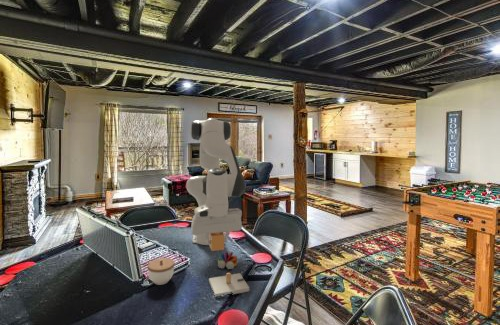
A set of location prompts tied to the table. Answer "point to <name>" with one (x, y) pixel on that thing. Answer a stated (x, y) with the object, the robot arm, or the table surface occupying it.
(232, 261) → the rainbow segmented toy
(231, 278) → the plate
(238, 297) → the table surface
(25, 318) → the table surface
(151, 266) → the lidded jar
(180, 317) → the table surface
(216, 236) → the orange cube with dome
